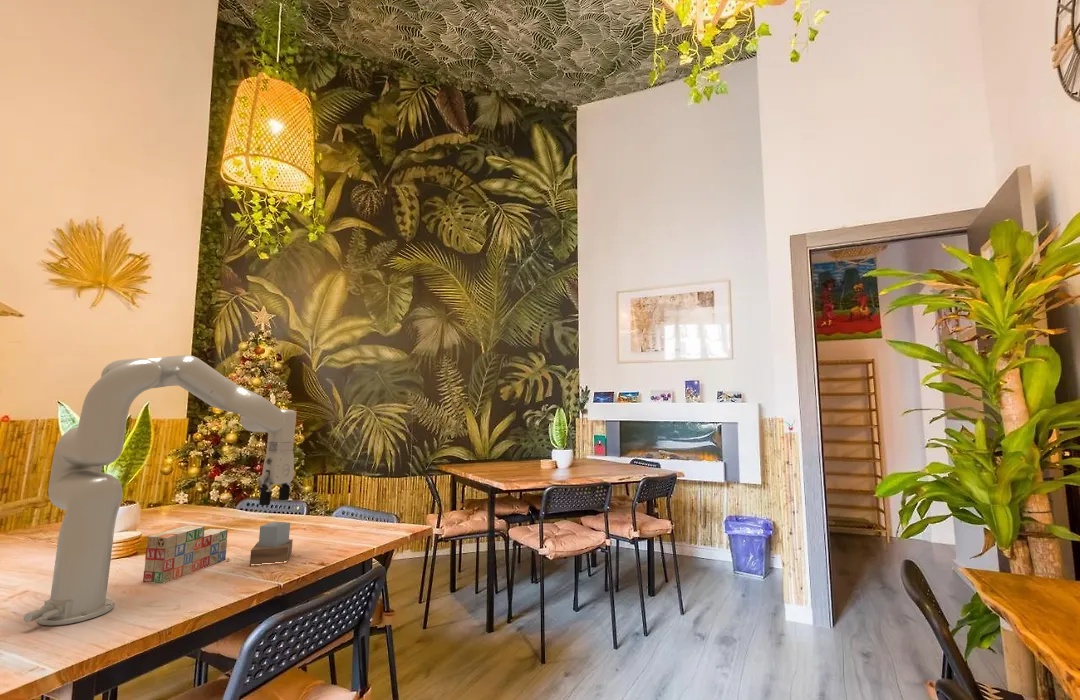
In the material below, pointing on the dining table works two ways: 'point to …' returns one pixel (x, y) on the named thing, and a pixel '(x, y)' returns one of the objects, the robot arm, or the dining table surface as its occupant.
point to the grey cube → (274, 534)
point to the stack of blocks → (183, 552)
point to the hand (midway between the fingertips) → (274, 502)
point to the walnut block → (271, 553)
